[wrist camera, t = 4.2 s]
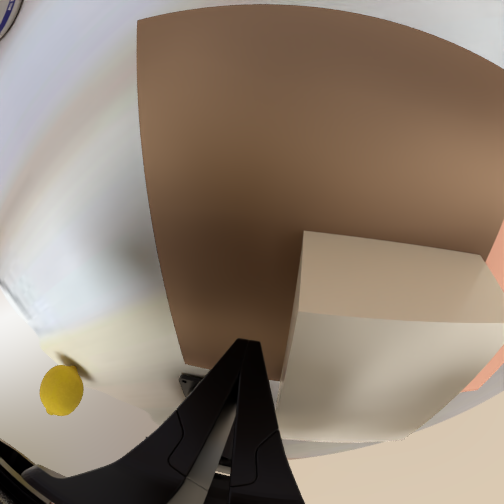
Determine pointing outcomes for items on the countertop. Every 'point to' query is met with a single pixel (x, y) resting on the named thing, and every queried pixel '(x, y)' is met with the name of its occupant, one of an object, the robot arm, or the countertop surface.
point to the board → (304, 155)
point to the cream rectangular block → (383, 337)
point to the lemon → (61, 390)
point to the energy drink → (8, 14)
